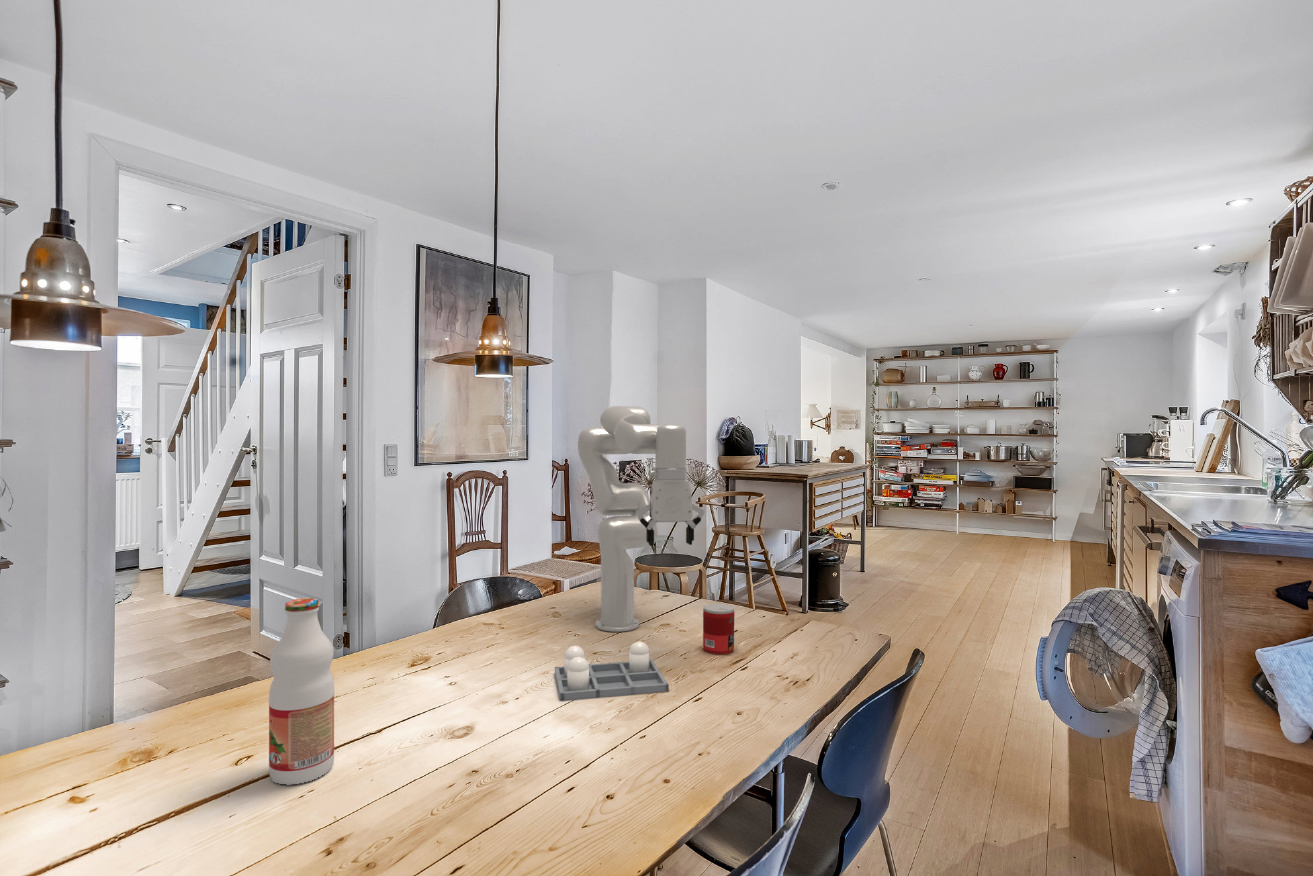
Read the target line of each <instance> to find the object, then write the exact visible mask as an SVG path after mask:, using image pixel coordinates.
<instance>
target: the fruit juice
mask: <svg viewBox="0 0 1313 876" xmlns="http://www.w3.org/2000/svg"><path fill="white" fill-rule="evenodd" d="M319 609H320V600H319V599H318V598H315V597H304V598H303V597H302V598H301V597H300V598H296V599H295V598H294V599H291V600H289V601H286V603H285V606H284V611H285V614H286V616H287V618H286V623H285V627H284V629H283V633H282V636H281V637H280V639H279V641H277V643H276V644H275V646H274V647H273V649H272V650H271V653H270V657H269V659H270V660H269V665H270V669H271V671H272V674H273V679H272V681H271V684H270V686H269V694H268V695H269V696H268V774H269V777H270V780H271V782H273V783H274V782H275V783H274V784H276V783H279V784H278V785H280V784H288V785H287V786H291V785H290V784H297V785H300V784H299V783H302V784H305V783H304V782H306V783H309V782H308V781H310V782H312V780H313V781H315V780H317V779H319V778H322V777H323V776H325V775H326V774H327V773H328V772H330V771H331V770H332V768H333V766H334V761H335V681H334V676H333V673H332V671H331V665H332V662H333V657H334V646H333V644H332V642H331V640H330V639H329V637H328V636H327V635H326V634H325V633H324V631H323V630H322V627H321V625H320V621H319V618H318V611H319ZM324 774H325V775H324ZM322 775H323V776H322ZM318 777H319V778H318ZM314 779H315V780H314Z"/></svg>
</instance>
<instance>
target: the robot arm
mask: <svg viewBox="0 0 1313 876" xmlns="http://www.w3.org/2000/svg"><path fill="white" fill-rule="evenodd" d="M599 423H600V425H601V426H593V427H588V428H585V429H583V430H581V432H580V433H579V435H578V438H577V451H578V455H579V459H580V461H581V463H582V466H583V468H584V470H585V471H586V473H587V476H588V478H589V482H590V487H591V490H592V491H591V492H592V494H593V498H594V503H595V506H596V509H597V511H598V513H599V514H600V515H603V516H606V517H605V518H604V519H602V520H601V521H600V523H599V524H598V528H597V536H598V543H599V551H600V574H601V575H600V576H601V578H600V580H601V581H600V598H601V599H600V618H598V619H597V620H596V621H595V628H597V629H598V630H601V631H605V632H613V633H615V632H616V633H619V632H620V633H621V632H628V631H632V630H636V629H638V627H640V620H639V619H637V618H636V617H635V565H634V562H633V561H634V560H633V559H632V558H631V556H630V555H629V554H628V551H627V550H631V549H640V548H648V547H654V546H655V544H656V542H657V541H658V526H657V523H682V522H683V523H685V524H686V525H687V527H686V528H685V543H686V544H688V545H689V546H691V545H693V541H695V528H696V526H697V525H699V523H700V522H701V521H702V519H703V517H704V515H705V510H704V509H703V508H700V507H699V506H696V505H695V504H693V500H692V499H693V498H692V497H693V496H692V490H691V482H690V481H689V480H687V431H686V428H685V426H682V425H678V424H674V425H673V424H671V425H670V424H651V415H650V413H649V411H648V410H646V409H645V408H644V407H642V406H630V405H629V406H626V405H623V406H621V405H616V406H615V405H613V406H610V407H607V408H606V409H604V410H603V412H602V413H601V415H600V421H599ZM629 454H631V455H632V454H633V455H654V454H655V468H654V469H653V470H649V476H650V477H654V480H652V484H651V489H650V495H648V492H647V490H646V489H645V487H644V486H643V485H641V484H640V483H637V482H627V483H626V482H621V481H620V480H619V476H618V472H617V470H616V468H615V466H614V465H613V464H612V462H610V460H608V459H607V458H606V457H604V455H629ZM693 512H696V516H695V517H693ZM607 516H608V517H607Z"/></svg>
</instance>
